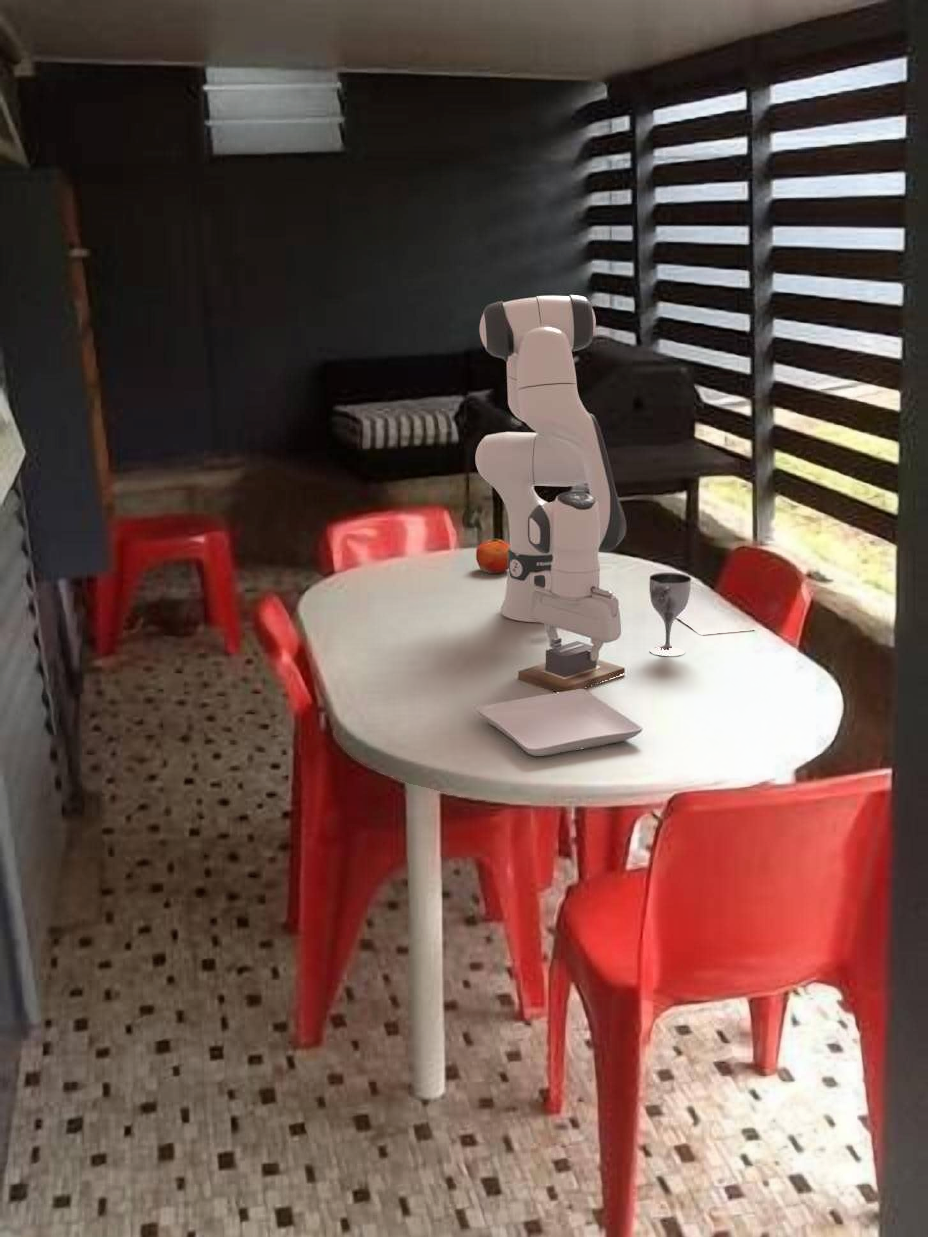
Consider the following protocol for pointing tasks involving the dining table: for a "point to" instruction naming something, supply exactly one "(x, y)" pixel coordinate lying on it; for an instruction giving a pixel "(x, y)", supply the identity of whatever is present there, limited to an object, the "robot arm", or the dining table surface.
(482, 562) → the tomato
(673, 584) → the wine glass
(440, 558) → the dining table surface
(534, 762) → the dining table surface
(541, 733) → the salad plate
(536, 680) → the pin board
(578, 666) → the socket block
